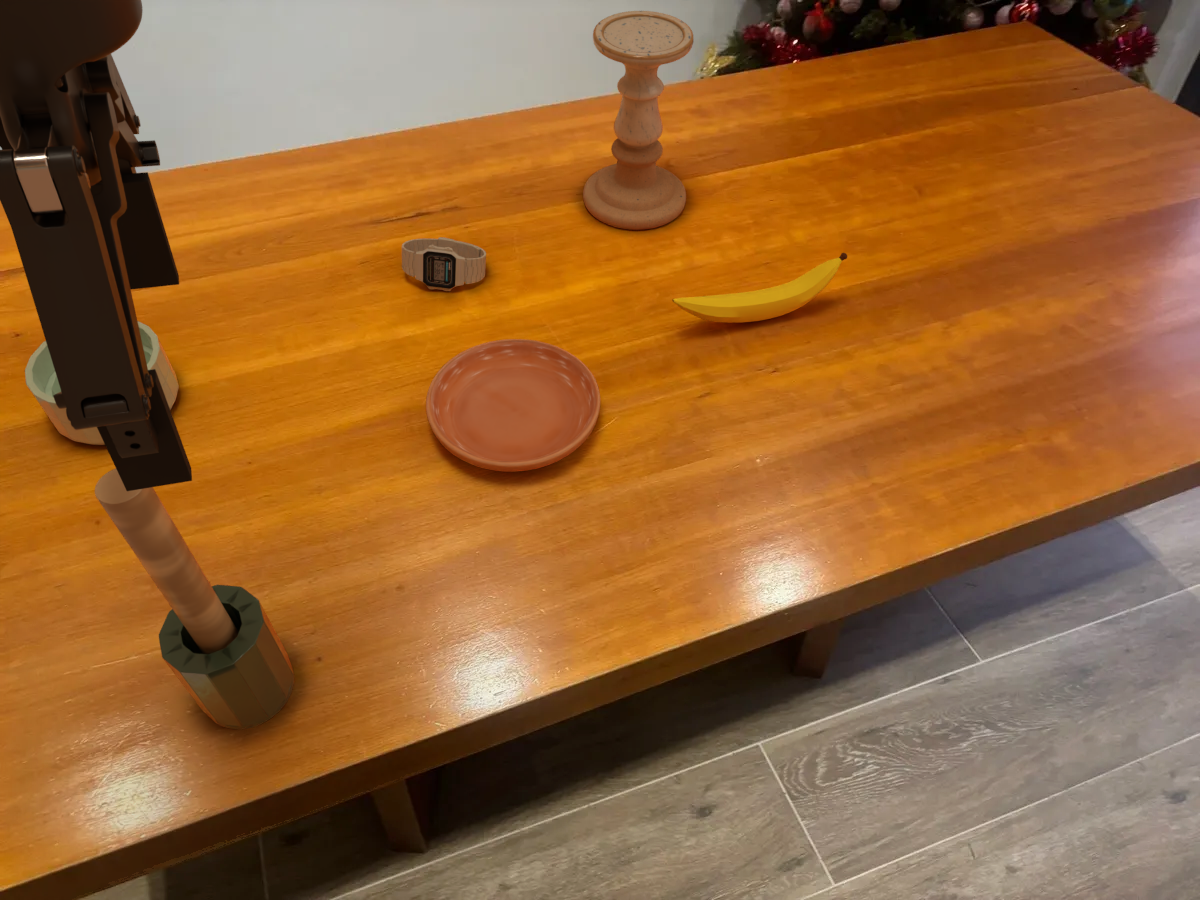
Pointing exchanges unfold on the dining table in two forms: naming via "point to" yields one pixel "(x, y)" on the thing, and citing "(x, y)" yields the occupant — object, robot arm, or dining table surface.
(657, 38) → the candle holder
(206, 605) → the stick
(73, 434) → the bowl
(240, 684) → the holder
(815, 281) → the banana
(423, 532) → the dining table surface
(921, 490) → the dining table surface
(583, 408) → the saucer
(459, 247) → the wristwatch
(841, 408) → the dining table surface
